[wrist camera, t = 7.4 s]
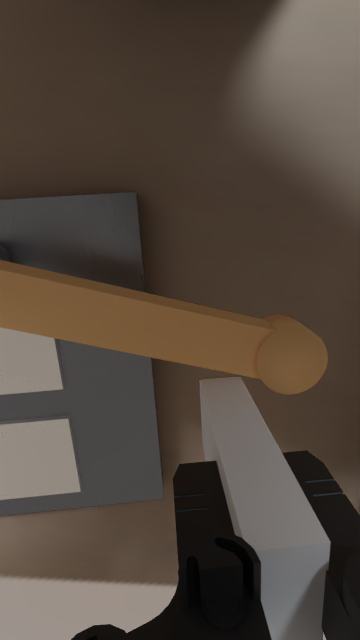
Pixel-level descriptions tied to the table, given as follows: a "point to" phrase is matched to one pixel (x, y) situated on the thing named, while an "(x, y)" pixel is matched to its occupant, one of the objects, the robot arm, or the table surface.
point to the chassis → (75, 368)
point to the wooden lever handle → (161, 327)
